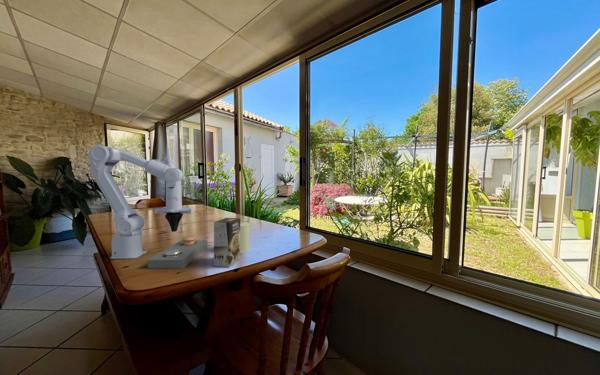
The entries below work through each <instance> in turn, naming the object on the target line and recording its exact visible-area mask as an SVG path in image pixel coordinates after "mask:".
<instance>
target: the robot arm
mask: <svg viewBox="0 0 600 375" xmlns="http://www.w3.org/2000/svg"><path fill="white" fill-rule="evenodd" d="M87 157H88V160H89V162H90V163H89V164H90V165H89V167H90V174H91V175H92V177H93V180H94V181H95V183H96V184H97V186H98V188H99V189H100V191H101V192H102V195H103V196H104V197H105V199H106V201H107V202H108V204H109V206H110V208H111V209H112V211H113V212H114V217H113V222H114V224H115V231H116V232H117V233H116V234H114V236H112V239H111V256H110V259H113V260H114V259H115V260H116V259H120V260H121V259H137V258H139V257H141V256H143V255H145V254H147V253H148V251H147V250H143V235H142V234H143V231H142V229H143V228H144V226H145V219H144V217H142V216H141V215H140V214H138V212H137V211H136V210H135V209H134V208H132V207H131V205H130V204H129V202H128V201H127V199H126V197H125V196H124V194H123V192H122V190H121V188H120V186H119V185H118V184H117V182H116V180H115V179H114V176H113V175H112V174H111V172H112V170H113V169H114V167H115V166H116V165H117V164H118V163H119V162H127V163H130V164H132V165H135V166H137V167H141V168H143V169H144V170H145V172H146V173H147V174H149V175H152V176H153V177H157V178H160V179H162V180H164V181H165V207H164V208H163V207H161V208H159V207H157V208H154V215H155V214H157V215H158V214H164V216H165V219H166V220H167V222H168V225H169V227H170V230H171V232H172V233H174V232H177V231H178V228H179V225H180V222H181V220H182V217H183V215H184V214H185V215H186V214H188V215H191V214H194V208H190V207H188V208H186V207H183V202H182V201H183V195H182V194H183V193H182V192H183V188H182V180H183V178H184V173H183V171H182V170H181V169H179V168H178V167H173V165H170V164H166V163H163V162H161V160H159V159H157V158H156V159H150V160H147V159H145V158H143V157H140V156H139V155H136V154H134V153H132V152H130V151H127V150H124V149H121V148H118V147H112V146H107V145H106V146H105V145H101V144H95V145H93V146H92V147H91V148H90V150H89V152H88V154H87Z"/></svg>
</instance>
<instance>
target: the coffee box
mask: <svg viewBox="0 0 600 375" xmlns="http://www.w3.org/2000/svg"><path fill="white" fill-rule="evenodd" d="M240 222H241V218H240V217H239V218H238V217H225V218H221V219H218V220H215V221H213V266H214V267H221V268H222V267H223V268H230V267H232V266H233V265H234V264H236V263H237V262H238V261H240V260H241V253H240Z"/></svg>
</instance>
